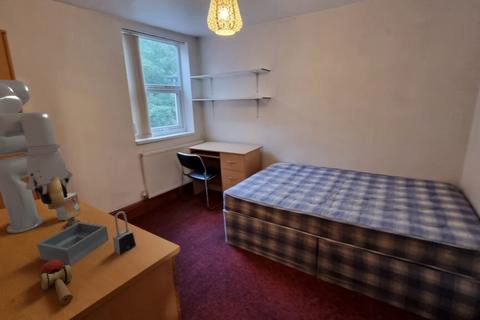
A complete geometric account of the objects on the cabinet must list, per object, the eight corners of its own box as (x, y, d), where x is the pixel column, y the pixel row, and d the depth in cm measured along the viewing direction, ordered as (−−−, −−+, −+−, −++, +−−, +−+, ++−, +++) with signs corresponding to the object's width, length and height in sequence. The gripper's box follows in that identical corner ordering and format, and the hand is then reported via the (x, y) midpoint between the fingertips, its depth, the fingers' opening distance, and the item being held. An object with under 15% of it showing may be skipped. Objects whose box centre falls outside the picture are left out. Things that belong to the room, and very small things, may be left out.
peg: (45, 208, 83) (37, 178, 80) (59, 202, 88) (52, 174, 85) (55, 210, 81) (47, 179, 79) (69, 204, 86) (62, 175, 83)
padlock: (119, 255, 85) (113, 217, 81) (113, 251, 87) (107, 214, 83) (137, 245, 90) (131, 209, 86) (130, 242, 92) (125, 207, 89)
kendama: (87, 296, 69) (67, 263, 80) (79, 282, 66) (60, 249, 77) (56, 318, 64) (40, 279, 74) (46, 304, 61) (30, 265, 72)
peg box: (41, 258, 84) (37, 244, 82) (82, 234, 99) (79, 221, 97) (70, 266, 80) (66, 250, 78) (108, 239, 94) (106, 226, 93)
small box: (67, 221, 111) (62, 200, 108) (57, 220, 112) (52, 199, 109) (81, 213, 118) (77, 193, 115) (72, 212, 119) (68, 192, 117)
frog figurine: (55, 228, 105) (53, 221, 104) (86, 218, 113) (84, 211, 112) (60, 238, 97) (58, 230, 96) (93, 227, 105) (91, 219, 104)
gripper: (60, 145, 89) (71, 191, 93) (5, 155, 73) (21, 209, 77) (75, 145, 86) (85, 192, 91) (21, 156, 71) (36, 212, 75)
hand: (55, 199), depth 84 cm, fingers closed on peg, 5 cm apart
